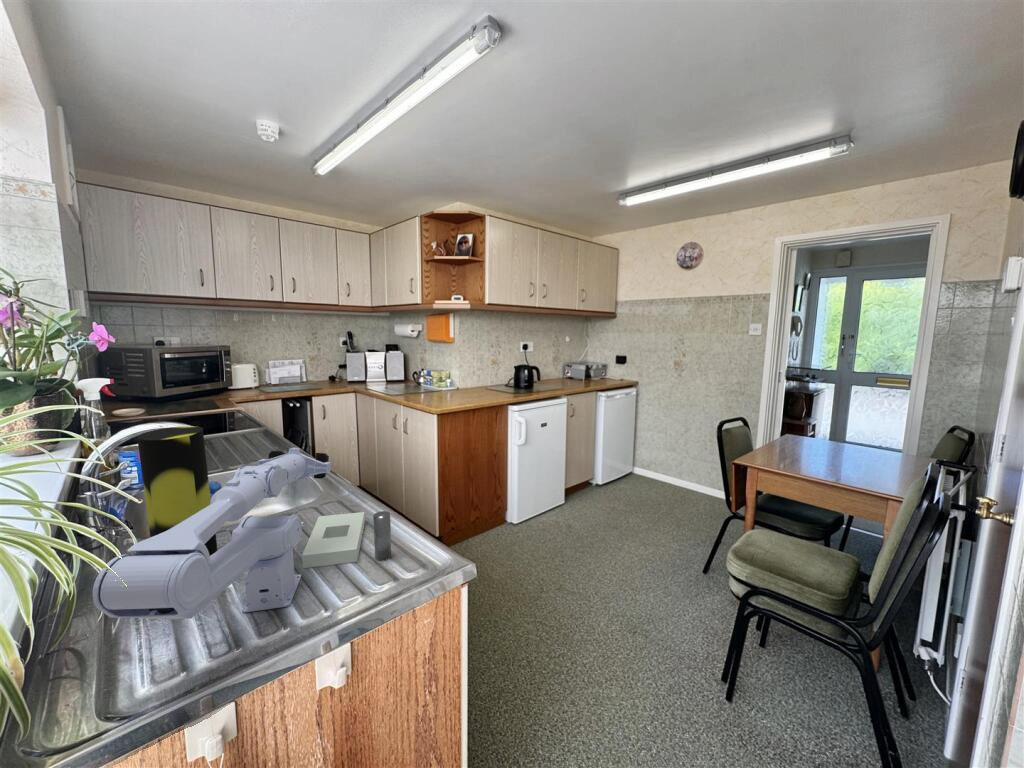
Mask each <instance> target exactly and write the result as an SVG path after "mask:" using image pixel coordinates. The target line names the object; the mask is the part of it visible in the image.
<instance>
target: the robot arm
mask: <svg viewBox="0 0 1024 768" xmlns="http://www.w3.org/2000/svg"><path fill="white" fill-rule="evenodd" d="M329 459H330V456H329V455H328V454H327V453H326V452H325V453H324V452H316V453H315V458H312V457H310V456H308V455H306V454H303V453H301V449H300V448H299V447H291V448H288V452H287V453H286V452H283V451H281V450H271V451H270V452H269V453H268V459H267V458H262V459H259V460H258V461H257V465H247V466H240V467H238V468H237V469H236V471H235V472H234V475H233V477H232V479H229V480H228V481H226V482H225V485H224V486H222V488H221V489H220V490H218V491H217V492H216V493H215V494H214V495H213V496H212V498H211V500H210V505H209V506H207V507H206V508H204V509H202V510H201V511H199V512H197V513H196V514H194V515H192V516H191V517H189V518H187V519H186V520H184V521H182V522H181V523H179V524H177V525H176V526H174V527H172V528H171V529H169V530H167V531H165V532H163V533H161V534H158V535H156V536H153V537H151V538H150V537H148V538H146V539H143V540H141V541H138V542H136V543H134V544H132V546H130V547H129V548H128V549H127V550H126V551H127V552H134V553H133V554H130V553H129V554H120V555H118V556H117V555H116V556H115V557H114V558H112V559H111V560H109V561H108V562H107V563H106V564H107V565H108V566H109V567H110V568H111V569H112V570H113V571H114V572H116V574H117V575H118V576H119V577H118V576H117V575H116V574H115V573H114V572H113V571H112V570H111V569H109V571H108V572H106V571H107V570H108V567H107V568H103V567H102V569H101V570H100V571H99V573H98V574H97V575H96V579H95V581H94V583H93V586H92V600H93V601H92V602H93V604H94V606H95V607H96V608H97V609H98V610H99V611H101V612H102V613H103V614H105V615H106V616H107V617H109V618H111V619H112V618H114V619H115V618H116V619H122V618H123V619H129V618H130V619H148V620H149V619H150V620H151V619H152V620H187V619H189V620H190V619H193V618H194V617H195V616H196V615H198V614H199V613H200V612H202V611H203V609H205V608H206V606H208V605H209V604H210V603H212V602H213V601H214V600H215V599H216V598H217V597H218V596H219V595H220V594H222V593H223V592H224V591H225V590H226V589H228V587H230V586H231V585H232V584H233V583H234V582H236V581H237V580H238V579H239V578H240V577H241V576H242V575H243V574H245V573H246V572H247V571H248V570H249V571H248V572H247V574H246V577H245V582H244V586H245V596H246V597H245V598H246V601H245V603H244V604H243V607H242V609H241V612H242V613H250V612H255V611H256V612H257V611H263V610H264V611H265V610H271V609H272V610H273V609H280V608H286V607H289V606H290V605H291V603H292V601H293V598H294V596H295V595H296V591H297V589H298V587H299V584H300V581H301V579H302V574H301V573H297V574H295V563H294V551H293V549H294V548H295V547H296V545H298V543H299V542H300V539H301V536H302V531H303V530H302V528H303V527H302V525H303V524H302V520H301V519H300V517H299V515H297V514H291V515H265V516H264V515H263V516H262V515H259V516H257V515H256V516H255V515H247V514H248V513H249V512H250V511H251V510H253V509H254V508H255V507H256V506H257V505H258V504H260V503H261V502H262V501H263V500H265V499H270V498H275V499H276V498H277V497H279V496H280V493H281V492H282V490H283V488H284V487H286V486H287V485H289V484H292V483H294V482H297V481H300V480H303V479H306V478H309V477H313V479H318V480H319V479H320V480H321V479H324V478H325V477H326V476H327V473H329V472H331V467H332V466H331V465H332V462H331V461H329ZM242 518H243V519H242ZM241 519H242V520H241ZM237 521H240V522H239V524H238V526H237V527H236V528H234V529H233V530H232V533H231V539H230V541H229V542H228V543H227V544H225V545H224V546H222V547H220V548H219V549H217V551H216V552H215V553H214V554H212V555H211V556H210V555H209V552H208V549H207V548H206V546H205V545H204V544H205V543H206V542H207V541H208V540H209V539H210V538H211V537H212V536H213V535H214V534H215V533H216V534H217V532H218V531H219V530H220V529H221V528H222V527H223V526H224V525H225V524H226V523H228V522H231V523H232V522H237ZM119 556H121V557H122V559H121V558H119ZM120 578H121V579H120ZM115 580H116V581H115ZM122 580H123V582H124V583H125V584H126V585H127V587H126V586H125V585H124V583H123V582H122ZM121 585H122V586H123V587H122V586H121ZM127 588H128V589H127Z"/></svg>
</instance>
